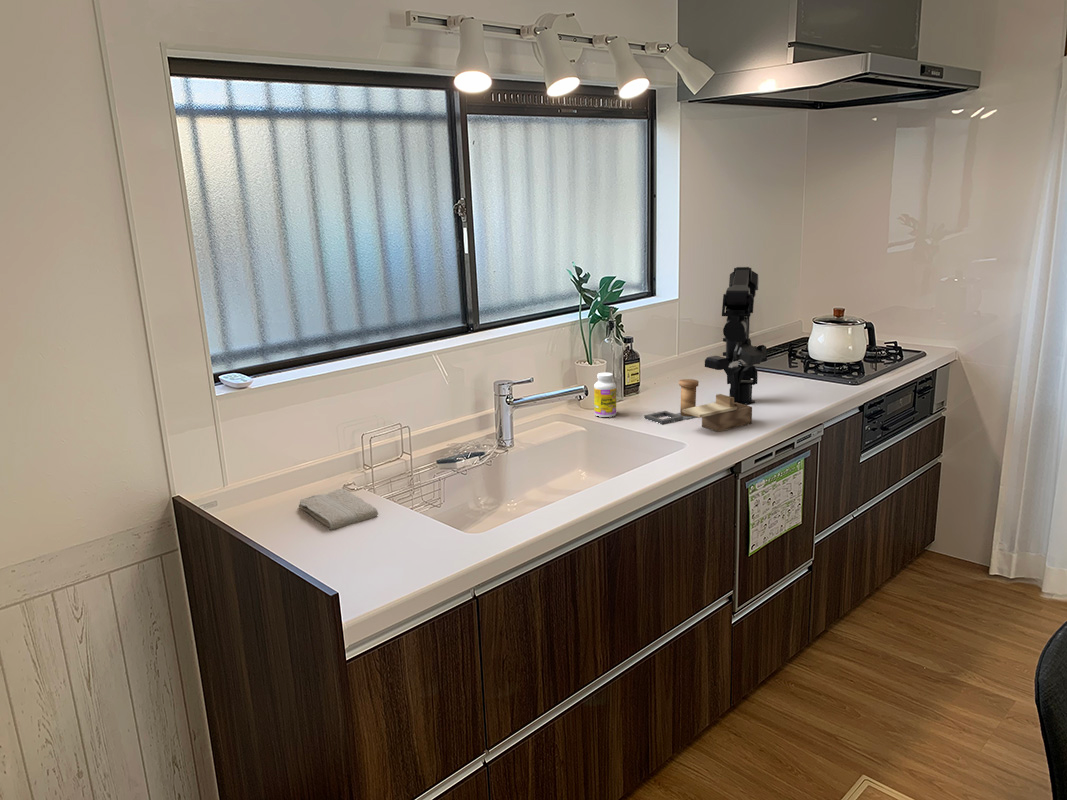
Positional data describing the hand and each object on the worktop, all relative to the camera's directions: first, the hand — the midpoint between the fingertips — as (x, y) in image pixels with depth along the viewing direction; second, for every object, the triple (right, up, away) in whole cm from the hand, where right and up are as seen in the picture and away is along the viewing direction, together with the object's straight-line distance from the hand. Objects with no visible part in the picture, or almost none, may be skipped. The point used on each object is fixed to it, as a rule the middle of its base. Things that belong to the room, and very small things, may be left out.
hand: (735, 388), depth 236 cm
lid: (-8, -6, -3) cm, 11 cm away
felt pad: (-11, -8, +12) cm, 18 cm away
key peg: (-11, -7, +12) cm, 18 cm away
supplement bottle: (-36, -8, +16) cm, 40 cm away
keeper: (-19, -9, +10) cm, 23 cm away
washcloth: (-101, -29, -52) cm, 117 cm away
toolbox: (-2, -10, +1) cm, 11 cm away
